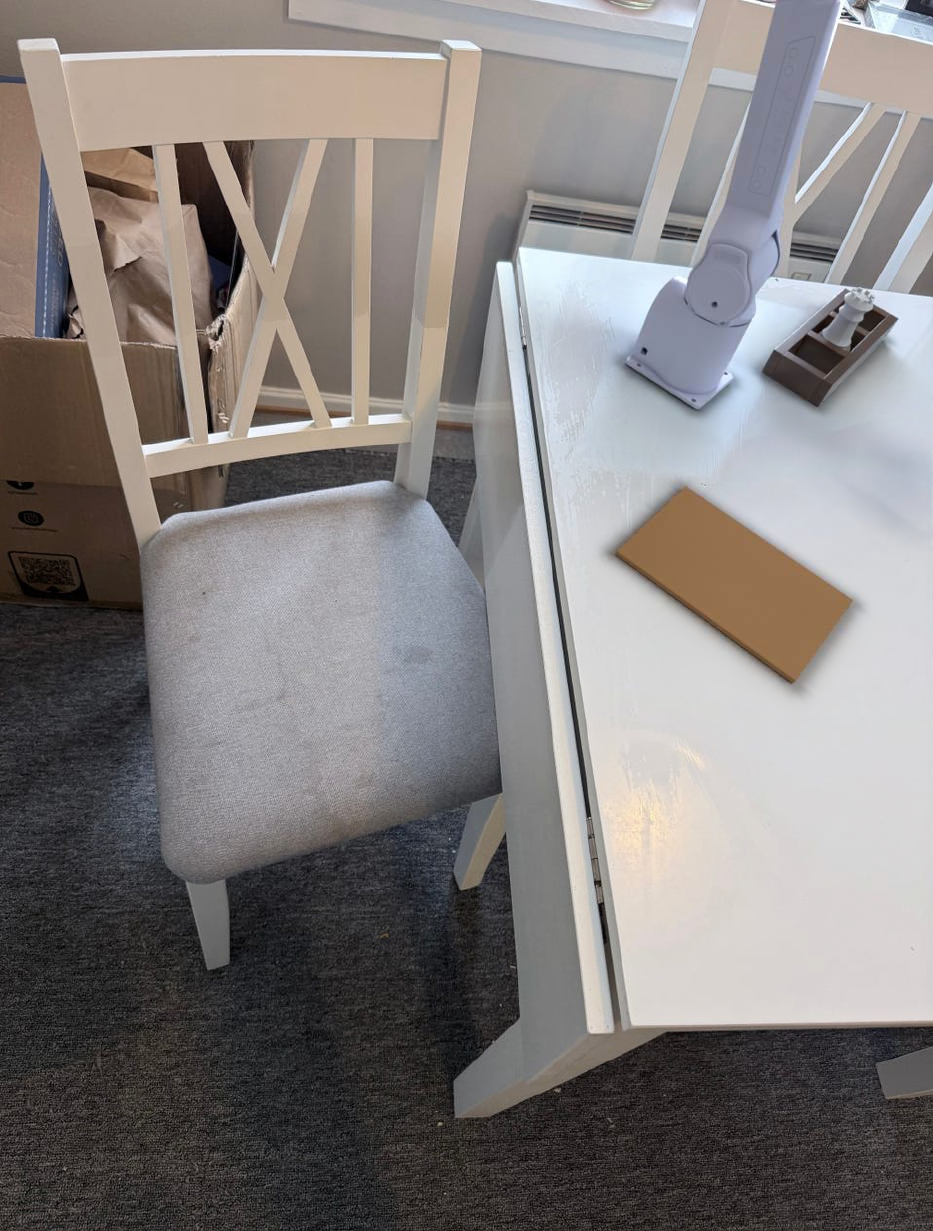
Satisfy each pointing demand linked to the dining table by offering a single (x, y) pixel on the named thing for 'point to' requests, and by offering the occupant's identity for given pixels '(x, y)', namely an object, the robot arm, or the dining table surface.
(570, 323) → the dining table surface
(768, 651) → the cork mat
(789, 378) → the stand
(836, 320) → the rook chess piece
